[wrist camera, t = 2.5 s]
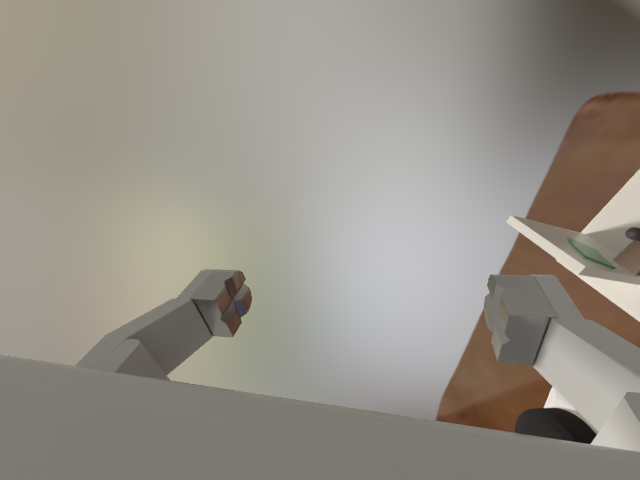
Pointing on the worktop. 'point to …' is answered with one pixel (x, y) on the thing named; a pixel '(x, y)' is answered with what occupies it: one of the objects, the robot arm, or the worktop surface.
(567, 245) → the stand
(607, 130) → the worktop surface
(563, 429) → the medicine bottle
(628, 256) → the lever
